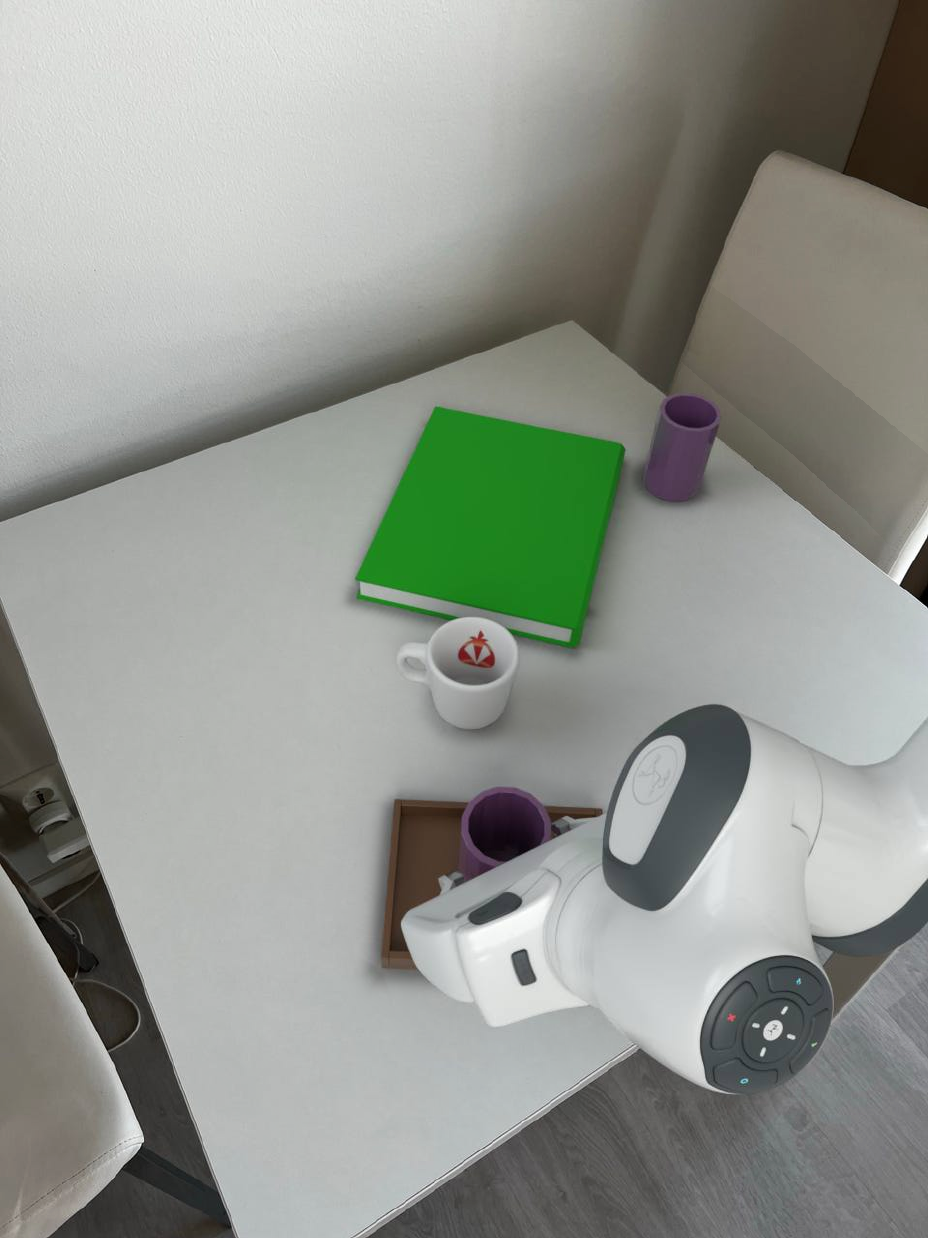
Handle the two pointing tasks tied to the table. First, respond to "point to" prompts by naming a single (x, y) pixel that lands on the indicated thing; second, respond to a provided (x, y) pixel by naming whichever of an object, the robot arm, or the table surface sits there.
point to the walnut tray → (428, 862)
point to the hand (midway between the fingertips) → (505, 855)
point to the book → (496, 526)
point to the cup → (465, 670)
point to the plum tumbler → (500, 829)
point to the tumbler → (681, 446)
